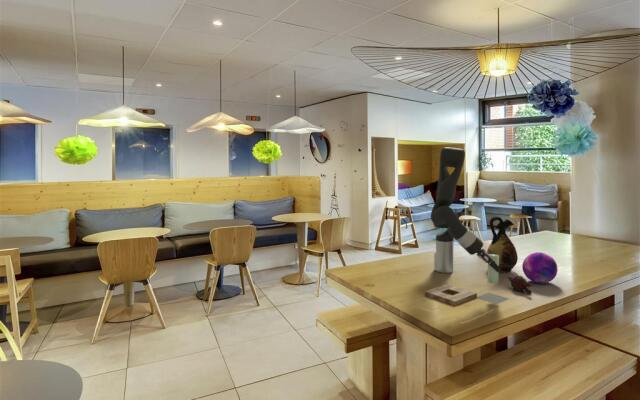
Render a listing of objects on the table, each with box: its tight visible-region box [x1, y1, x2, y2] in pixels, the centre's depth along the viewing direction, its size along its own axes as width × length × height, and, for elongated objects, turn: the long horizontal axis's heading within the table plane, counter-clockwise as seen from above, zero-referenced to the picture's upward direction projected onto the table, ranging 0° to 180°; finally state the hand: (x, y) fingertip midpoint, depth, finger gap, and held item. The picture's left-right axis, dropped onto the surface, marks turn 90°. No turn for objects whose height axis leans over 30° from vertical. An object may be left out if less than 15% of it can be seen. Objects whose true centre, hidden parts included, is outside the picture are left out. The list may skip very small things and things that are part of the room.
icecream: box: [507, 275, 533, 295], centre depth 178 cm, size 7×7×15 cm
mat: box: [476, 292, 510, 305], centre depth 167 cm, size 10×10×1 cm
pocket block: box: [424, 283, 478, 306], centre depth 171 cm, size 16×16×2 cm
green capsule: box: [487, 254, 500, 285], centre depth 166 cm, size 4×4×12 cm
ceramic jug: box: [486, 215, 519, 274], centre depth 208 cm, size 17×15×30 cm
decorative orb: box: [521, 251, 559, 284], centre depth 187 cm, size 15×15×15 cm
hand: (497, 269), depth 166 cm, fingers closed on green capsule, 4 cm apart
